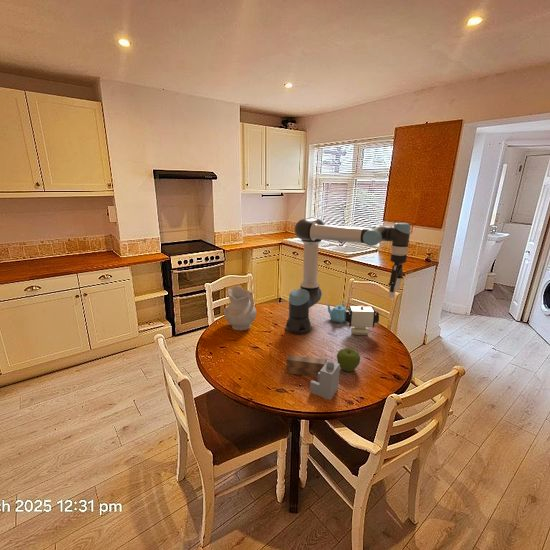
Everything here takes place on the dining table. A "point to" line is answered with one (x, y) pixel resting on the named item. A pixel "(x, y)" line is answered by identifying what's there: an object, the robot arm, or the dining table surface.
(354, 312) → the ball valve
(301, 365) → the rail
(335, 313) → the teapot
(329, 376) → the grey two-prong block
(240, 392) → the dining table surface
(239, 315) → the ceramic pitcher
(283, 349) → the dining table surface
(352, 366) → the apple
